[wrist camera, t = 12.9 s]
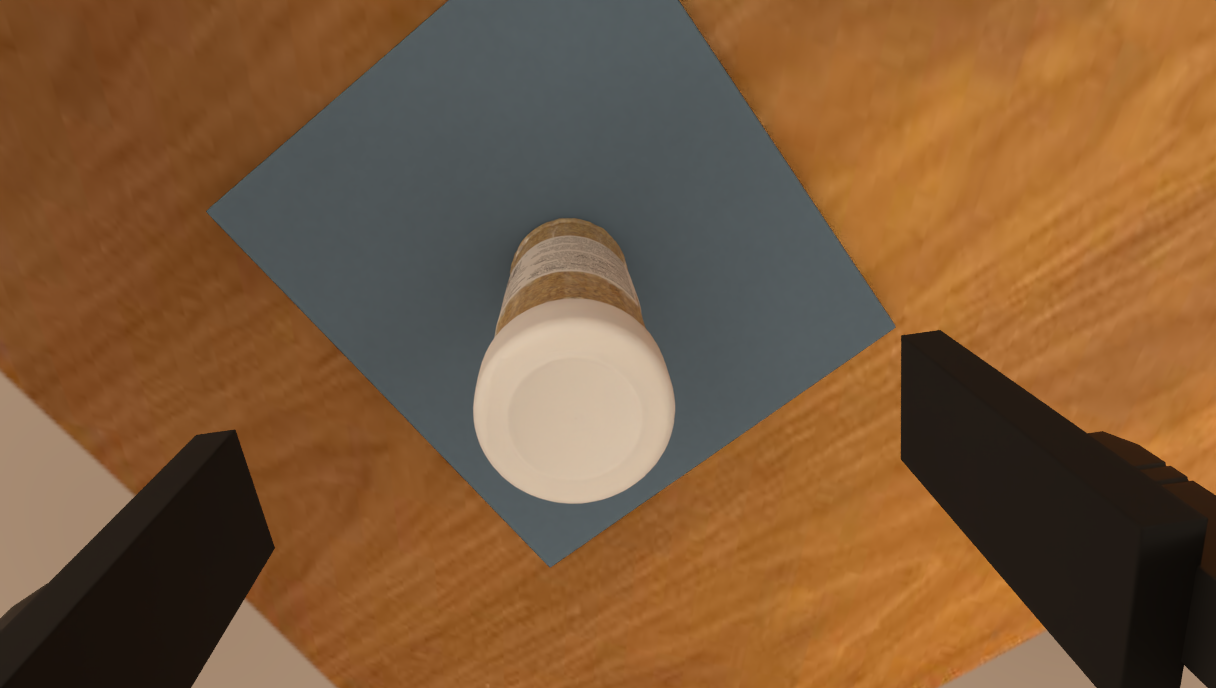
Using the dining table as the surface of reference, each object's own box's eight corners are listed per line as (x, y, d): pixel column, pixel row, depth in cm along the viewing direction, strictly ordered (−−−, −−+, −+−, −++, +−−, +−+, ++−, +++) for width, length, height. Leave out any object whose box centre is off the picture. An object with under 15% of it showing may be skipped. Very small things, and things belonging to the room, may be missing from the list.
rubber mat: (210, 209, 28) (204, 211, 28) (593, -124, 26) (594, -127, 25) (550, 561, 34) (549, 568, 34) (891, 323, 31) (896, 327, 31)
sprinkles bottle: (593, 348, 30) (616, 541, 18) (489, 297, 30) (435, 462, 17) (649, 248, 29) (717, 378, 17) (543, 191, 28) (528, 284, 16)
